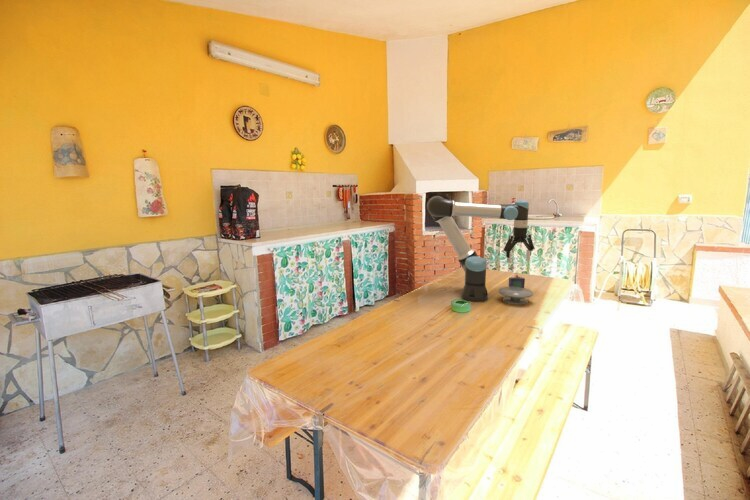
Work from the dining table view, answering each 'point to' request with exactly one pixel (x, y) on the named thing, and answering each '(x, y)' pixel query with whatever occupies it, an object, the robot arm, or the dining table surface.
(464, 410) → the dining table surface
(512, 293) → the cake stand
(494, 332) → the dining table surface
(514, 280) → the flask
